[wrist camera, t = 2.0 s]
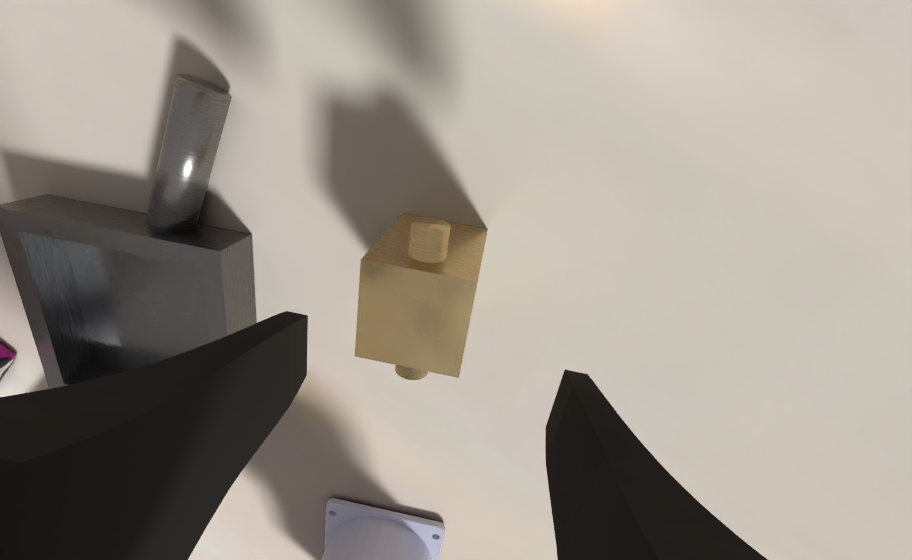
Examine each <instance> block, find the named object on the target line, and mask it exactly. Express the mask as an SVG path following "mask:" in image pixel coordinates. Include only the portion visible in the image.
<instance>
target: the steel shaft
mask: <svg viewBox="0 0 912 560" xmlns="http://www.w3.org/2000/svg"><path fill="white" fill-rule="evenodd" d="M230 101H231V95H230V94H229V93H228V92H226V91H225V90H224V89H222V88H220V87H219V86H217V85H215V84H213V83H211V82H208V81H206V80H203V79H200V78H197V77H194V76H190V75H185V74H178V75H177V76H176V80H175V85H174V90H173V94H172V99H171V104H170V108H169V113H168V118H167V123H166V127H165V132H164V137H163V141H162V146H161V151H160V155H159V160H158V165H157V170H156V174H155V179H154V184H153V188H152V193H151V198H150V202H149V207H148V212H147V217H146V221H145V224H146V226H147V228H148V229H149V230H150V231H152V232H153V233H155V234H163V235H176V234H184V233H188V232H191V231H193V230H195V229H196V226H197V222H198V218H199V215H200V211H201V207H202V204H203V200H204V196H205V193H206V189H207V185H208V182H209V178H210V174H211V171H212V167H213V163H214V160H215V156H216V152H217V149H218V145H219V141H220V138H221V134H222V130H223V127H224V123H225V119H226V116H227V112H228V108H229V105H230Z"/></svg>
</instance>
